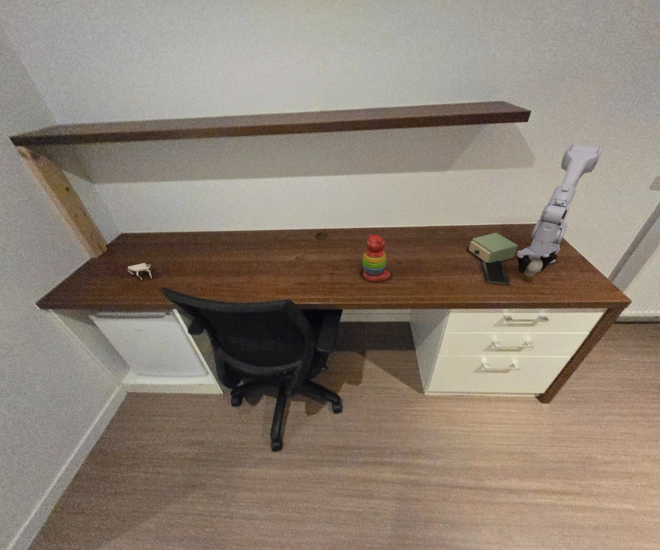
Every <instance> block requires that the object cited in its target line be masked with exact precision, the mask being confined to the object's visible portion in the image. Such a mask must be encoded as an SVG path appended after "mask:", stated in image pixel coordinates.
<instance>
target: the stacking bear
mask: <svg viewBox="0 0 660 550" xmlns="http://www.w3.org/2000/svg"><path fill="white" fill-rule="evenodd" d="M385 247H386V241H385V239H383V237H381V236H380V235H377V234H372V233H370V234H369V235H368V238H367V240H366V249H365V250H364V253H363V256H362V261H361V264H362V268H363V271H362V277H363V278H364V280H367V281H370V282H382V281H386V280H388V279H391V276H392V274H391V272H390V271H388V270H386V266H387V255H386V252H385V249H384V248H385Z"/></svg>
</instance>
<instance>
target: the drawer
mask: <svg viewBox="0 0 660 550" xmlns="http://www.w3.org/2000/svg"><path fill="white" fill-rule="evenodd" d="M468 251H470V252H471V253H472V254H473V255H474V256H476V257H478V258H479V259H480V260H481V261H482V260H483V261H485V262H488V261H489V258H490V255H491V252H490V251H488V250H487V249H485V248H484V247H482V246H481V245H479V244H478V243H476V242H474V241H472V240H471V241H470V242H469V247H468Z"/></svg>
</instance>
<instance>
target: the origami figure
mask: <svg viewBox="0 0 660 550" xmlns="http://www.w3.org/2000/svg"><path fill="white" fill-rule="evenodd" d="M151 266H152V264H148V263H146V262H143V263H138V264H134V265H129V266H127V272H128V273H130V274H131V275H136V276H137V277H138V278H139V279H140V281H143V277H141V276H140V275H139V272H143V271H145V272H148V274H149V277H150V279H153V277H152V273H151V270H150V267H151ZM133 272H136V274H135V273H133Z"/></svg>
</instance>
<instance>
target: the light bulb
mask: <svg viewBox="0 0 660 550" xmlns="http://www.w3.org/2000/svg"><path fill="white" fill-rule="evenodd" d="M529 259H530V260H532V262H531V263H530V264H529V265H528V266H527V268H526V270H525V272H524V273H523V277H522V278H523V280H524V281H527V282H528V281H531V280H532V278H534V276H535V274H537V273H539V272H540V271H541V269H542V266H543V263H542V261H541V260H540V259H539V258H537V257H529Z"/></svg>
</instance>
